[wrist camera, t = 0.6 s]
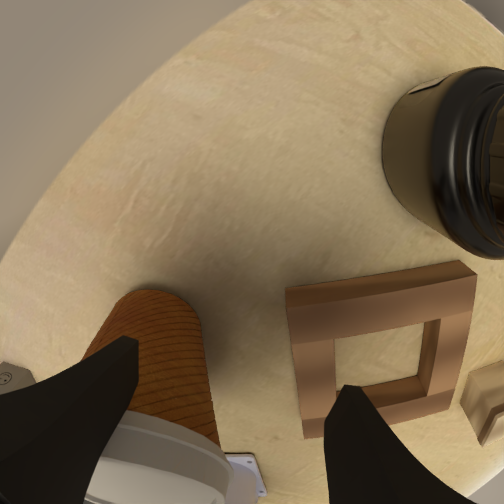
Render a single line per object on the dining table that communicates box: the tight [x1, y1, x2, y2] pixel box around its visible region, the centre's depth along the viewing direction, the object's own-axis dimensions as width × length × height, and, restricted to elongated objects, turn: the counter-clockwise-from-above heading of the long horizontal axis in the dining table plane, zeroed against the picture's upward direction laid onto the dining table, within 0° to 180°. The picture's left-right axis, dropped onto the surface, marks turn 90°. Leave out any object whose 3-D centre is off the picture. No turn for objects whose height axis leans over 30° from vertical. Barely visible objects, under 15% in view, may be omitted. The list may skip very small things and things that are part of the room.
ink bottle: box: [383, 66, 504, 260], centre depth 10 cm, size 10×9×12 cm
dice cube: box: [0, 362, 36, 394], centre depth 24 cm, size 5×5×5 cm
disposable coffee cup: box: [81, 289, 234, 504], centre depth 15 cm, size 10×10×12 cm
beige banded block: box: [460, 361, 504, 448], centre depth 18 cm, size 4×4×6 cm
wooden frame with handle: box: [285, 260, 477, 439], centre depth 20 cm, size 19×12×2 cm, turn 10°
